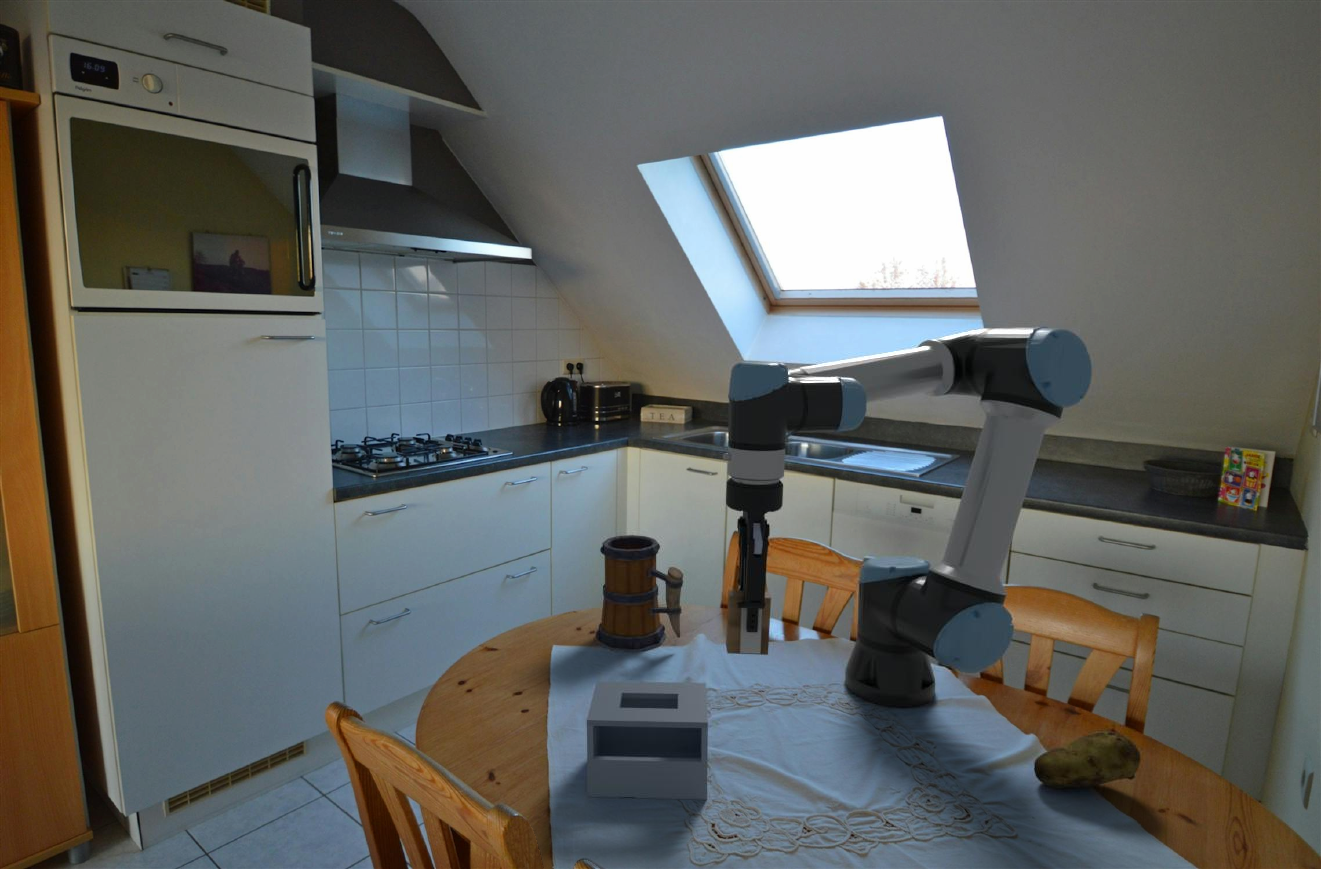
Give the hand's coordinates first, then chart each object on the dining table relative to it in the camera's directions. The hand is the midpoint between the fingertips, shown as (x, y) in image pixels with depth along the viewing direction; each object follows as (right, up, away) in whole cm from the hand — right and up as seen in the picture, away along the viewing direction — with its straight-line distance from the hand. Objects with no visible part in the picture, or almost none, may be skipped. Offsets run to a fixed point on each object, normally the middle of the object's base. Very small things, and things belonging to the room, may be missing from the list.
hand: (748, 646), depth 101 cm
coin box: (-14, -19, +3) cm, 24 cm away
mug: (-16, -13, +48) cm, 52 cm away
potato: (+46, -20, 0) cm, 50 cm away
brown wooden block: (0, 0, 0) cm, 1 cm away
